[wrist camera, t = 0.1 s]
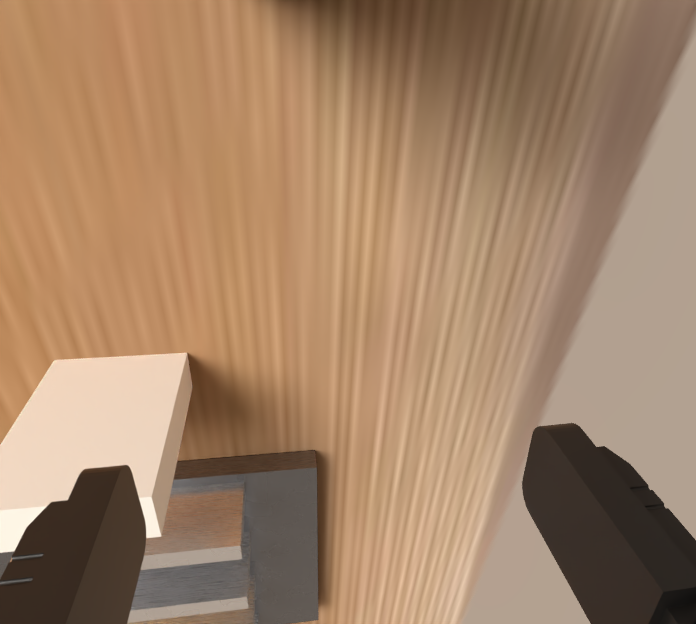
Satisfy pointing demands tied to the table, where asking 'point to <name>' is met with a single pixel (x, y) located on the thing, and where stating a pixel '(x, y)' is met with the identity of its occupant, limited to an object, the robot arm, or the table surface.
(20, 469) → the block
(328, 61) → the table surface
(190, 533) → the rack
